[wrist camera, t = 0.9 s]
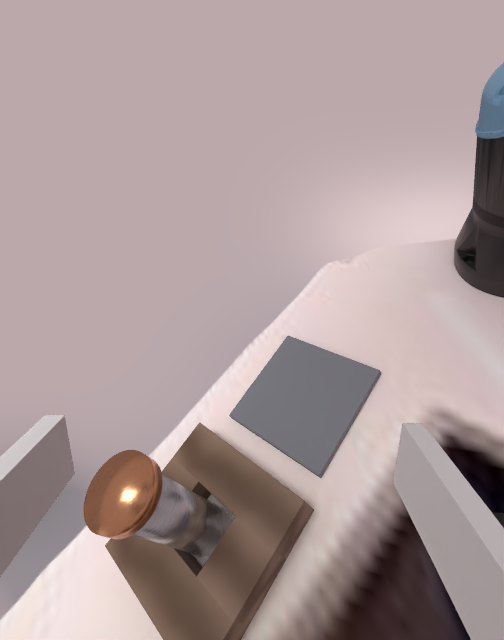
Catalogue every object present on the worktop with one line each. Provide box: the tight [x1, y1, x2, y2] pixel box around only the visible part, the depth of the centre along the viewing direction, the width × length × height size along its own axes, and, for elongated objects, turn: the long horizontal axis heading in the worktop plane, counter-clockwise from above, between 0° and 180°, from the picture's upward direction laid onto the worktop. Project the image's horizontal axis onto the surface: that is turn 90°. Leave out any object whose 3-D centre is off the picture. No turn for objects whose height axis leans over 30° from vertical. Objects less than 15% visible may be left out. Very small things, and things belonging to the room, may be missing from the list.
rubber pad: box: [229, 336, 381, 478], centre depth 43 cm, size 14×14×1 cm
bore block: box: [105, 423, 314, 640], centre depth 36 cm, size 16×16×4 cm
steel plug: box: [84, 450, 232, 559], centre depth 31 cm, size 6×6×16 cm
